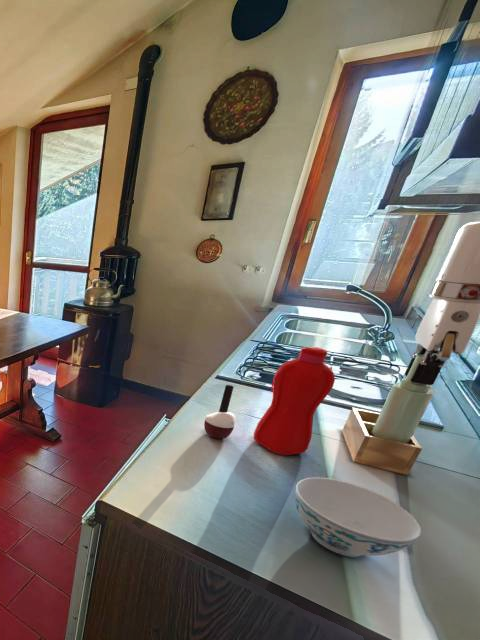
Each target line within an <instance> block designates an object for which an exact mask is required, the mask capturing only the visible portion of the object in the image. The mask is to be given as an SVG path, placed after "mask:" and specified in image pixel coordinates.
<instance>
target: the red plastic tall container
mask: <svg viewBox="0 0 480 640" xmlns="http://www.w3.org/2000/svg"><path fill="white" fill-rule="evenodd" d="M327 354H328V350H327V349H325V348H322V347H318V346H316V347H315V346H311V347H301V349H300V352H299V353H298V356H297V358H294V359H291V360H288V361H285V362H284V363H281V364H280V366H279V367H278V369H277V370H276V372H275V374H274V375H273V381H272V383H271V387H270V391H271V393H272V399H271V404H270V405H269V407H268V408H267V410H266V411H265V413H264V414H263V415H262V417H261V418H260V419H259V420H258V422H257V425H256V427H255V430H254V432H253V440H254V441H255V442H256V443H257V444H259V445H260V446H262V447H264V448H265V449H267V450H268V451H270V452H271V453H274V454H277V455H280V456H292V455H302V454H303V453H305V452H306V451H307V450H308V448H309V446H310V443H311V440H312V435H313V426H314V425H313V424H314V415H315V413H316V410H317V409H318V408H319V406H320V405H321V404H322V403H323V401H324V400H325V399H326V398H327V396H329V394H330V393H331V391H332V389H333V387H334V384H335V381H336V378H335V374H334V373H335V372H334V371H333V370H332V369H331V368H330V367H329V366H328V365H327V364H325V360H326V358H328V356H327Z"/></svg>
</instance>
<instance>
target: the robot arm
mask: <svg viewBox="0 0 480 640" xmlns="http://www.w3.org/2000/svg"><path fill="white" fill-rule="evenodd" d="M457 231H458V232H457V233H456V235H455V238H454V240H453V242H452V244H451V246H450V247H449V251H448V253H447V255H446V257H445V259H444V261H443V264H442V266H441V268H440V270H439V272H438V275H437V277H436V279H435V281H434V283H433V286H432V288H431V290H430V292H429V295H428V298H429V299H432V301H431V302H430V304H429V306H428V308H427V309H426V312H425V314H424V316H423V317H422V320H421V321H420V324H419V326H418V328H417V331H416V333H415V336H414V340H415V341H416V343H418V345H417V346H416V349H415V351H414V353H413V355H412V357H411V359H410V361H409V363H408V365H407V368H406V370H405V371H404V375H405V377H407V375H408V373H409V371H410V369H411V366H412V364H413V362H414V360H415V358H416V356H417V355H419V354H423V355H424V357H423V359H422V362H421V364H419V363H418V365H417V367H416V369H415V371H414V373H413V375H412V377H411V379H410V381H411V382H413V383H419V384H426V385H432V386H433V385H434V384H435V382H436V380H437V379H438V376H439V374H440V372H441V370H442V368H443V367H444V365H445V363H446V361H447V360H450V359H451V355H452V353H454V354H455V355H461V354H464V353H465V351H466V349H467V348H468V345H469V342H470V340H471V338H472V336H473V334H474V333H475V330H476V327H477V325H478V322H479V320H480V221H474V222H468V223H466V224H464V225H463V226H461V228H459V230H457ZM430 355H431V357H430Z"/></svg>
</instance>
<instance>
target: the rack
mask: <svg viewBox="0 0 480 640" xmlns="http://www.w3.org/2000/svg"><path fill="white" fill-rule="evenodd" d="M379 414H380V412H375V411H371V410H367V409H360V408H355V407H352V408H351V409H350V412H349V414H348V417H347V419H346V421H345V423H344V425H343V428H342V430H341V432H342V435H343V438H344V440H345V443H346V446H347V448H348V452H349V454H350V457H351V459H352V462H354V463H358V464H361V465H364V466H365V465H366V466H368V467H369V466H370V467H373V468H377V469H382V470H386V471H389V472H394V473H397V474H401V475H405V476H408V475H409V473H410V472H411V470H412V468H413V466H414V464H415V463H416V461H417V459H418V457H419V455H420V454H421V452H422V450H423V447H422V446H421V445H420V443H419V442H418V441H417V439H416V437H415V436H414V435H413V436H412V437H411V439H410V441H409V443H407V444H406V443H401V442H397V441H392V440H388V439H383V438H379V437H376V436H374V435H373V434H372V433H371V431H372V429H373V427H374V425H375V423H376V421H377V418H378V416H379Z"/></svg>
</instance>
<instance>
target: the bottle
mask: <svg viewBox="0 0 480 640" xmlns="http://www.w3.org/2000/svg"><path fill="white" fill-rule="evenodd" d="M423 357H424V355H423V354H419V355H417V356H416V358H415V357H414V358H415V360H414V362H413V364H412V366H411V369H410V371H409V373H408V375H407V376H405V378H404V377H403V378H401V380H400V382H395V383H393V385H392V386H391V389H390V391H389V392H388V395H387V397H386V399H385V401H384V404H383V406H382V407H381V410H380V412H379V413H380V414H379V416H378V418H377V421H376V423H375V425H374V427H373V429H372V431H371V433H372V434H373V435H374V436H376V437H379V438H383V439H388V440H392V441H397V442H401V443H406V444H407V443H409V441H410V439H411V437H412V436H414V434H415V432H416V430H417V428H418V426H419V424H420V422H421V421H422V418H423V416H424V414H425V412H426V410H427V409H428V407H429V405H430V403H431V401H432V399H433V397H434V396H435V391H434V390H433V389H432V387H433V385H426V384H419V383H413V382H411V381H410V379H411V377H412V375H413V373H414V371H415V369H416V367H417V365H418V363H419V364H421V362H422V359H423ZM430 357H431V355H430Z"/></svg>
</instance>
